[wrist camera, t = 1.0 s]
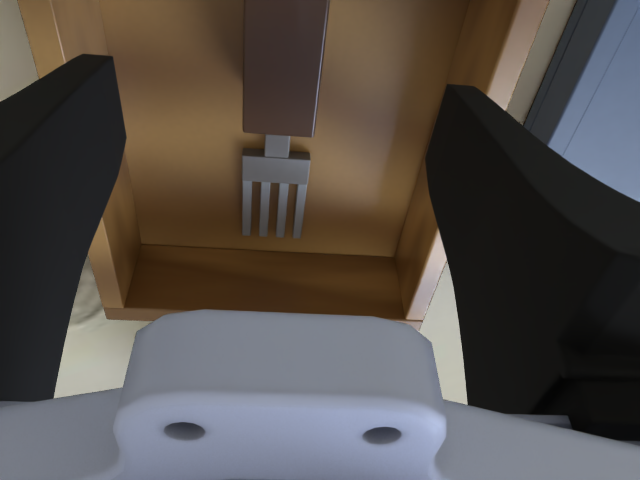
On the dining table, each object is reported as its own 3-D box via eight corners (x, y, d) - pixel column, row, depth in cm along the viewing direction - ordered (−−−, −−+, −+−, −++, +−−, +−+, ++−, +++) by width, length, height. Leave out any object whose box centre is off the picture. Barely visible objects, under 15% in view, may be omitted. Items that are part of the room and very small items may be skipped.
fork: (244, -117, 14) (237, -88, 13) (340, -106, 15) (345, -76, 13) (241, 229, 23) (237, 275, 22) (301, 232, 24) (301, 279, 22)
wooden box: (405, 256, 26) (419, 332, 23) (129, 242, 25) (105, 320, 22) (542, -182, 14) (608, -144, 11) (32, -249, 13) (-47, -226, 10)
